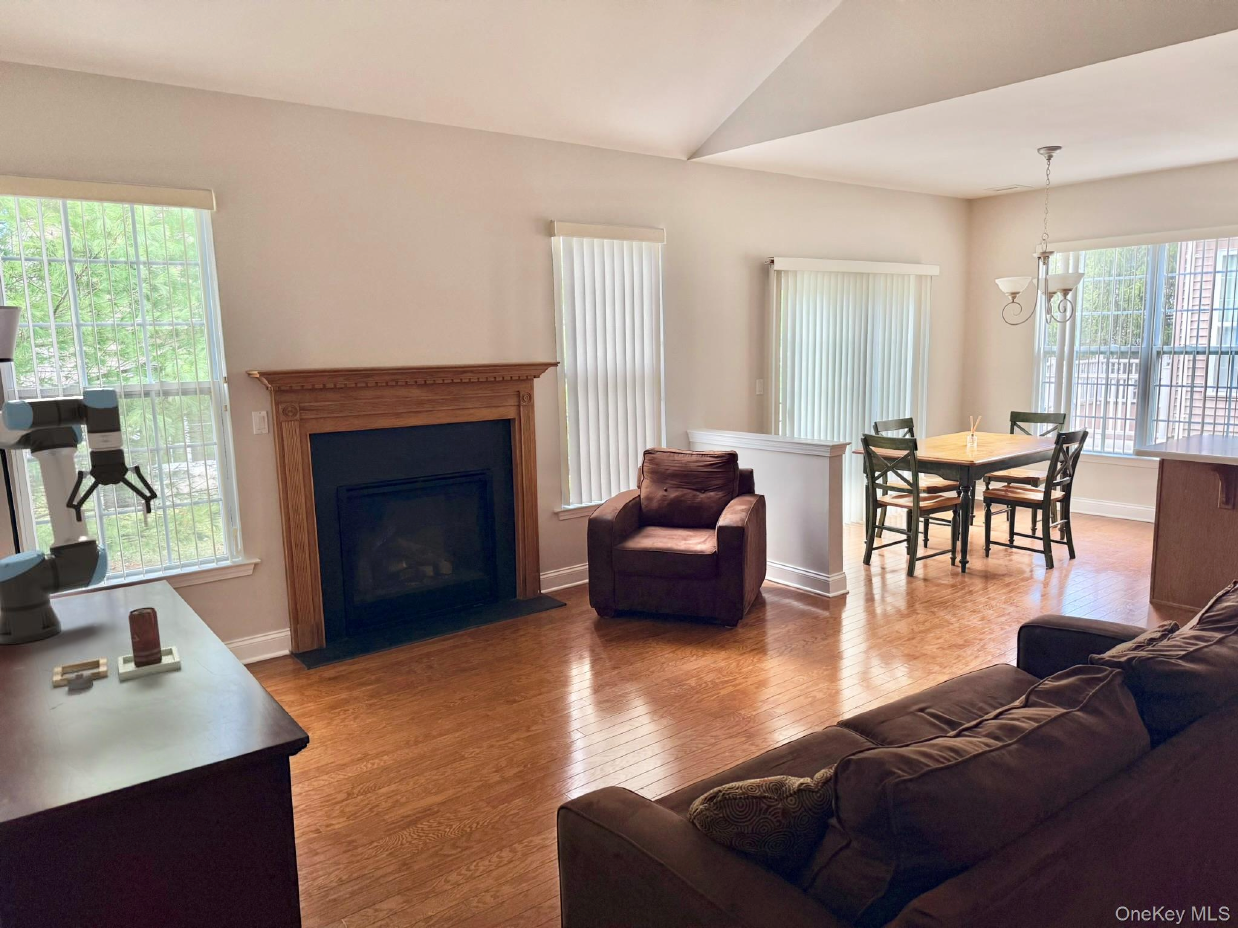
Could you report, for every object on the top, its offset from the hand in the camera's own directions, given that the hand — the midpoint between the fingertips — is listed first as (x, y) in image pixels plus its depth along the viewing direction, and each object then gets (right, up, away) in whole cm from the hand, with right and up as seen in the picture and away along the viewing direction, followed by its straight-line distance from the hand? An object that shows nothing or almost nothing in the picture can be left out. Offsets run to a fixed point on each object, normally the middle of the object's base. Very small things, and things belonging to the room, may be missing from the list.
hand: (116, 530), depth 218 cm
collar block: (0, -35, -14) cm, 38 cm away
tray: (+13, -34, -8) cm, 37 cm away
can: (+13, -33, -8) cm, 36 cm away
